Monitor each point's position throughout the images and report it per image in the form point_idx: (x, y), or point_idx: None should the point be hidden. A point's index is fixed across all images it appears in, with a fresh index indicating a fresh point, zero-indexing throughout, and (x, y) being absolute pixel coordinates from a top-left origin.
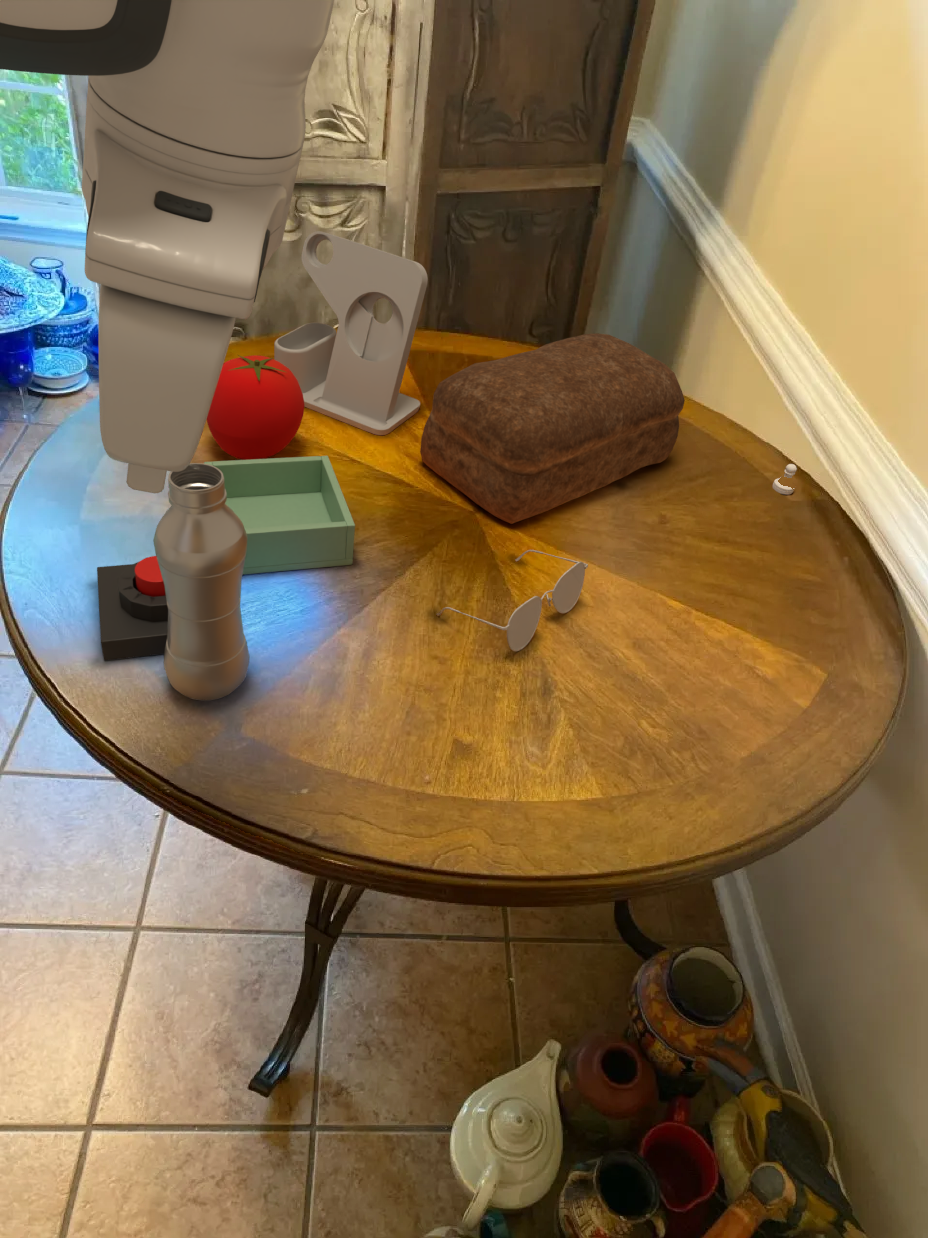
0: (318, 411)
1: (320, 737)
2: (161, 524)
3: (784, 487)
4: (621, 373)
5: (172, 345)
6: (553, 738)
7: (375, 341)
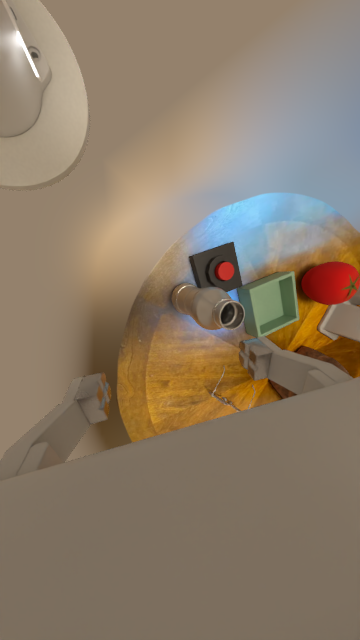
0: None
1: (163, 340)
2: (212, 293)
3: None
4: None
5: None
6: (174, 407)
7: None
